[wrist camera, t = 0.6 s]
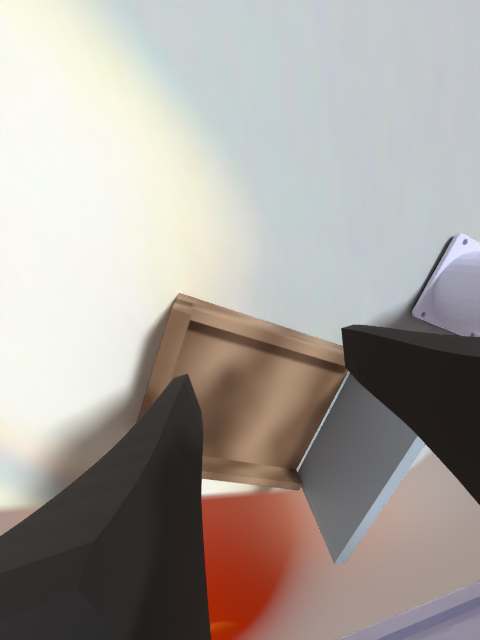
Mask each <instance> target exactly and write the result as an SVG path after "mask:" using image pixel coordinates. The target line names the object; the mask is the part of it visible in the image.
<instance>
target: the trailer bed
mask: <svg viewBox="0 0 480 640" xmlns="http://www.w3.org/2000/svg"><path fill="white" fill-rule="evenodd" d="M347 372H348V369H347V368H346V367H345V361H344V351H343V346H340V345H337V344H334V343H331V342H328V341H325V340H322V339H319V338H316V337H313V336H310V335H307V334H304V333H300V332H297V331H294V330H291V329H288V328H285V327H282V326H279V325H276V324H273V323H270V322H267V321H264V320H260V319H257V318H254V317H251V316H248V315H245V314H242V313H239V312H236V311H233V310H230V309H227V308H224V307H220V306H217V305H214V304H211V303H208V302H205V301H202V300H199V299H196V298H193V297H190V296H187V295H184V294H180V293H179V295H178V297H177V299H176V301H175V303H174V305H173V307H172V309H171V312H170V316H169V319H168V322H167V326H166V329H165V332H164V335H163V339H162V342H161V345H160V348H159V352H158V355H157V358H156V361H155V365H154V368H153V371H152V375H151V378H150V381H149V384H148V388H147V391H146V394H145V397H144V401H143V404H142V407H141V411H140V414H139V417H138V420H137V422H138V421H139V420H140V419H141V418H142V416H143V415H144V414H145V413H146V412H147V411H148V410H149V408H150V407H151V406H152V405H153V403H154V402H155V401H156V400H157V398H158V397H159V396H160V395H161V393H162V392H163V391H164V389H165V388H166V387H167V386H168V384H169V383H170V382H171V381H172V379H173V378H175V377H178V376H181V375H185V374H188V375H189V378H190V381H191V384H192V386H193V389H194V392H195V395H196V397H197V400H198V403H199V406H200V408H201V412H202V422H203V457H202V479H210V480H218V481H226V482H235V483H243V484H251V485H259V486H267V487H275V488H284V489H292V490H300V488H301V486H302V482H301V480H300V477H299V475H298V473H297V470H296V469H297V467H298V465H299V464H300V462H301V460H302V458H303V456H304V454H305V452H306V450H307V448H308V446H309V445H310V443H311V441H312V439H313V437H314V435H315V433H316V431H317V429H318V427H319V426H320V424H321V422H322V420H323V418H324V416H325V414H326V412H327V410H328V408H329V407H330V405H331V403H332V401H333V399H334V397H335V395H336V393H337V391H338V389H339V388H340V386H341V384H342V382H343V380H344V378H345V376H346V374H347Z"/></svg>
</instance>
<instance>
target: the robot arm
mask: <svg viewBox="0 0 480 640" xmlns="http://www.w3.org/2000/svg"><path fill="white" fill-rule="evenodd" d="M412 316H414V317H416V318H418V319H421V320H423V321H426V322H428V323H431V324H433V325H436V326H438V327H441V328H443V329H446V330H448V331H451V332H453V333H456V334H458V335H461V336H453V335H440V334H430V333H421V332H413V331H405V330H397V329H390V328H383V327H376V326H368V325H351V326H348V327H344V328H341V330H342V340H343V351H344V361H345V367H346V368H347V369H348V371H349V372H350V373H351V374H352V376H353V377H354V378H355V379H356V380H357V381H358V382H359V383H360V384H361V385H362V386H363V387H364V388H365V389H366V390H368V391H369V392H370V393H371V394H372V395H373V396H374V397H376V398H377V399H378V400H379V401H380V402H381V403H382V404H384V405H385V406H386V407H387V408H388V409H389V410H390V411H392V412H393V413H394V414H395V415H396V416H397V417H399V418H400V419H401V420H402V421H403V422H404V423H405V424H406V425H407V426H408V427H409V428H410V429H412V430H413V432H414V433H415V434H416V435H417V436H418V437H419V438H420V439H421V440H422V441H423V442H424V443H425V444H426V445H427V446H428V447H429V448H430V449H431V450H432V451H433V452H434V454H435V455H436V456H437V457H438V458H439V459H440V460H441V461H442V462H443V463H444V465H445V466H446V467H447V468H448V469H449V470H450V471H451V472H452V473H453V475H454V476H455V477H456V478H457V479H458V480H459V481H460V482H461V484H462V485H463V486H464V487H465V488H466V489H467V491H468V492H469V493H470V494H471V495H472V497H473V498H474V499H475V500H476V501H477V502H478V504H479V505H480V243H478V242H477V241H475V240H473V239H471V238H470V237H468V236H466V235H464V234H457V235H455V236H454V238H453V239H452V241H451V243H450V245H449V246H448V248H447V250H446V252H445V254H444V255H443V257H442V259H441V261H440V262H439V264H438V266H437V268H436V270H435V271H434V273H433V275H432V277H431V278H430V280H429V282H428V284H427V286H426V287H425V289H424V291H423V293H422V294H421V296H420V298H419V300H418V302H417V303H416V305H415V307H414V309H413V311H412ZM202 457H203V422H202V412H201V408H200V406H199V403H198V400H197V397H196V395H195V392H194V389H193V386H192V384H191V381H190V378H189V375H188V374H185V375H181V376H178V377H175V378H173V379H172V381H171V382H170V383H169V384H168V386H167V387H166V388H165V389H164V391H163V392H162V393H161V395H160V396H159V397H158V398H157V400H156V401H155V402H154V403H153V405H152V406H151V407H150V408H149V410H148V411H147V412H146V413H145V414H144V415H143V416H142V418H141V419H140V420H139V421H138V422H137V423H136V425H135V426H134V427H133V428H132V429H131V430H130V431H129V432H128V433H127V434H126V435H125V436H124V437H123V438H122V439H121V440H120V441H119V442H118V443H117V444H116V445H115V446H114V447H113V448H112V449H111V450H110V451H109V452H108V453H107V454H106V455H105V456H103V457H102V458H101V459H100V460H99V461H98V462H97V463H95V464H94V465H93V466H92V467H91V468H90V469H88V470H87V471H86V472H85V473H84V474H83V475H82V476H80V477H79V478H78V479H77V480H76V481H74V482H73V483H72V484H71V485H69V486H68V487H67V488H66V489H64V490H63V491H62V492H61V493H59V494H58V495H57V496H55V497H54V498H53V499H51V500H50V501H49V502H47V503H46V504H45V505H44V506H42V507H41V508H40V509H38V510H37V511H36V512H34V513H33V514H31V515H30V516H29V517H27V518H26V519H25V520H23V521H22V522H20V523H19V524H17V525H16V526H15V527H13V528H12V529H10V530H9V531H8V532H6V533H4V534H3V535H1V536H0V640H211V634H210V623H209V611H208V598H207V586H206V573H205V558H204V542H203V525H202V506H201V482H202ZM337 640H480V580H479V581H477V582H475V583H472V584H470V585H467V586H465V587H462V588H460V589H458V590H455V591H453V592H451V593H448V594H446V595H443V596H441V597H438V598H436V599H434V600H431V601H429V602H426V603H424V604H422V605H419V606H416V607H414V608H412V609H409V610H407V611H404V612H402V613H399V614H397V615H395V616H392V617H390V618H387V619H385V620H382V621H380V622H378V623H375V624H373V625H370V626H368V627H366V628H363V629H361V630H358V631H356V632H353V633H351V634H348V635H346V636H344V637H341V638H339V639H337Z"/></svg>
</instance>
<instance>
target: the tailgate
mask: <svg viewBox="0 0 480 640" xmlns="http://www.w3.org/2000/svg"><path fill="white" fill-rule="evenodd" d="M424 446H425V443H424V442H423V441H422V440H421V439H420V438H419V437H418V436H417V435H416V434H415V433H414V432H413V430H412V429H410V428H409V427H408V426H407V425H406V424H405V423H404V422H403V421H402V420H401V419H400V418H399V417H397V416H396V415H395V414H394V413H393V412H392V411H390V410H389V409H388V408H387V407H386V406H385V405H384V404H382V403H381V402H380V401H379V400H378V399H377V398H376V397H374V396H373V395H372V394H371V393H370V392H369V391H368V390H366V389H365V388H364V387H363V386H362V385H361V384H360V383H359V382H358V381H357V380H356V379H355V378H354V377H353V376H352V374H351V373H350V374H349V376H348V378H347V380H346V382H345V384H344V386H343V388H342V390H341V391H340V393H339V395H338V397H337V399H336V401H335V403H334V405H333V406H332V408H331V410H330V412H329V414H328V416H327V418H326V420H325V422H324V423H323V425H322V427H321V429H320V431H319V433H318V435H317V437H316V439H315V440H314V442H313V444H312V446H311V448H310V450H309V452H308V454H307V456H306V457H305V459H304V461H303V463H302V465H301V467H300V469H299V471H298V472H297V473H298V475H299V477H300V480H301V482H302V486H301V487H302V489H303V491H304V494H305V496H306V498H307V501H308V503H309V505H310V508H311V510H312V512H313V515H314V517H315V519H316V522H317V524H318V526H319V529H320V531H321V534H322V536H323V538H324V540H325V543H326V545H327V548H328V550H329V552H330V555H331V557H332V559H333V562H334V564H345V563H346V562H347V561H348V559H349V558H350V556H351V555H352V553H353V552H354V550H355V549H356V547H357V546H358V544H359V543H360V541H361V540H362V538H363V537H364V535H365V534H366V532H367V531H368V529H369V528H370V526H371V525H372V523H373V522H374V520H375V519H376V517H377V516H378V514H379V513H380V511H381V510H382V508H383V507H384V505H385V504H386V502H387V501H388V499H389V498H390V496H391V495H392V493H393V492H394V490H395V489H396V487H397V486H398V484H399V483H400V482H401V480H402V478H403V477H404V475H405V474H406V473H407V471H408V470H409V468H410V467H411V465H412V464H413V462H414V461H415V459H416V458H417V456H418V455H419V453H420V452H421V450H422V449H423V447H424Z"/></svg>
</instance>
